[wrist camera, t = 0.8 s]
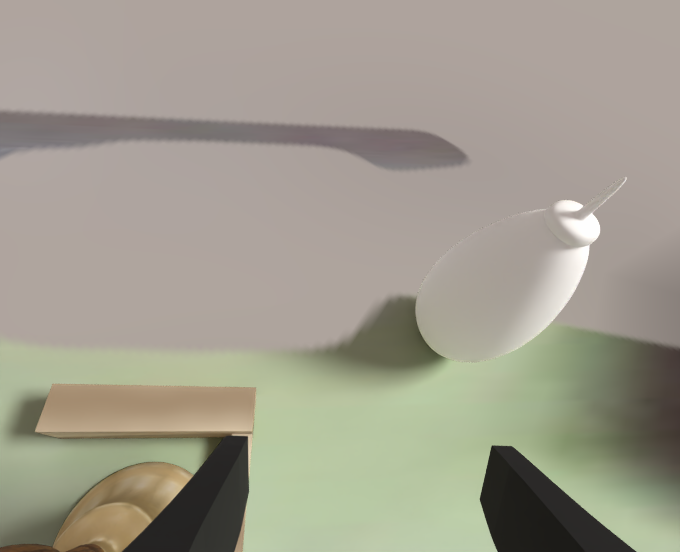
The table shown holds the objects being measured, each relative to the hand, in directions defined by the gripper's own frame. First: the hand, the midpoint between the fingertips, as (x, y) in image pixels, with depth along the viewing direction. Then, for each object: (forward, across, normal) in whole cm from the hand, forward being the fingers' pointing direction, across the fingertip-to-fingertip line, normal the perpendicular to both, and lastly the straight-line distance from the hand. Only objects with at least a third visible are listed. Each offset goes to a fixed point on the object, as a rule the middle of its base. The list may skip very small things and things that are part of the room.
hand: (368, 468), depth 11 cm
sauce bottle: (+19, -8, +4) cm, 21 cm away
